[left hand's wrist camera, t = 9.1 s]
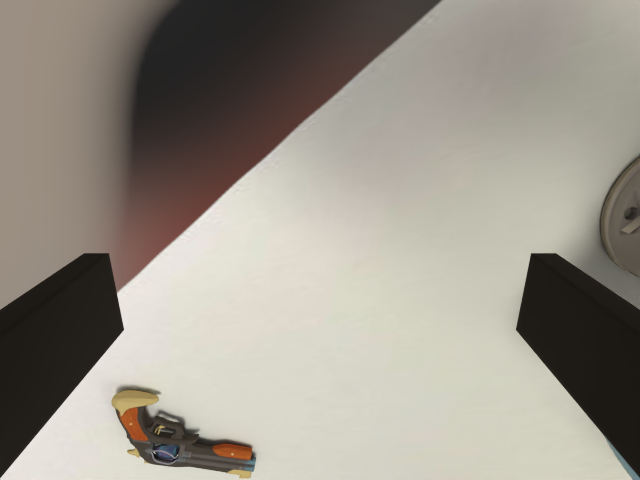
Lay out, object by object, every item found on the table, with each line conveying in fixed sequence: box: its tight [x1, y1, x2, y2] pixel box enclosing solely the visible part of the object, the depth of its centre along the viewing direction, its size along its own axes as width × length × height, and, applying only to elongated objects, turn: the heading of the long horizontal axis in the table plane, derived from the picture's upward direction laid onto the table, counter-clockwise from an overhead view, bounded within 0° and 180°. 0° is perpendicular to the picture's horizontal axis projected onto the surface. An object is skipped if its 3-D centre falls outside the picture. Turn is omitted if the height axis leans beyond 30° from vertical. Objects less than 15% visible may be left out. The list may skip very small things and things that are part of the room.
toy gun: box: [112, 390, 256, 478], centre depth 50 cm, size 3×19×10 cm
